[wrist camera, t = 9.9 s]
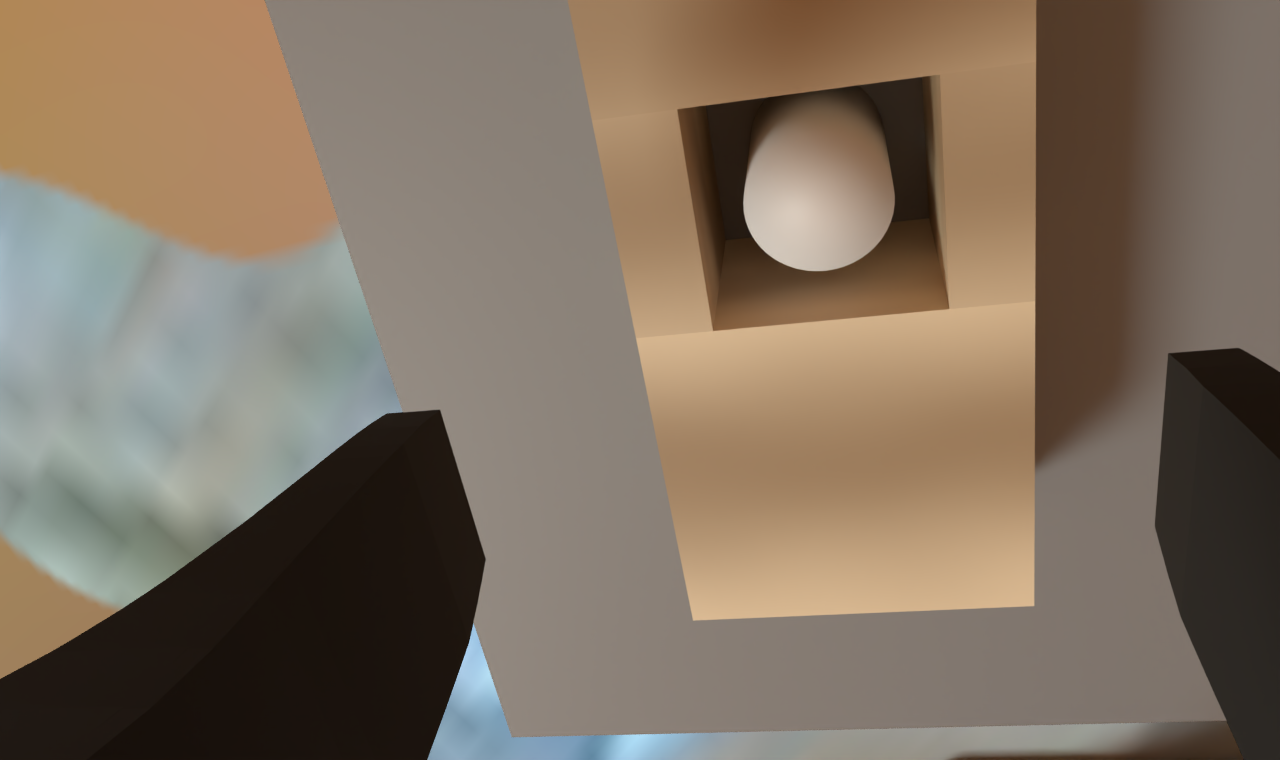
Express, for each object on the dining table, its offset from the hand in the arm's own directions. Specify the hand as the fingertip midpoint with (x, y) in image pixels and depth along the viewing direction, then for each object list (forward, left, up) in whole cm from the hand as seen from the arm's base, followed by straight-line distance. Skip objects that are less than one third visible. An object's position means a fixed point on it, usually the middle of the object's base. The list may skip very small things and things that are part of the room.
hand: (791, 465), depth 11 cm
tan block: (+1, 0, -7) cm, 7 cm away
